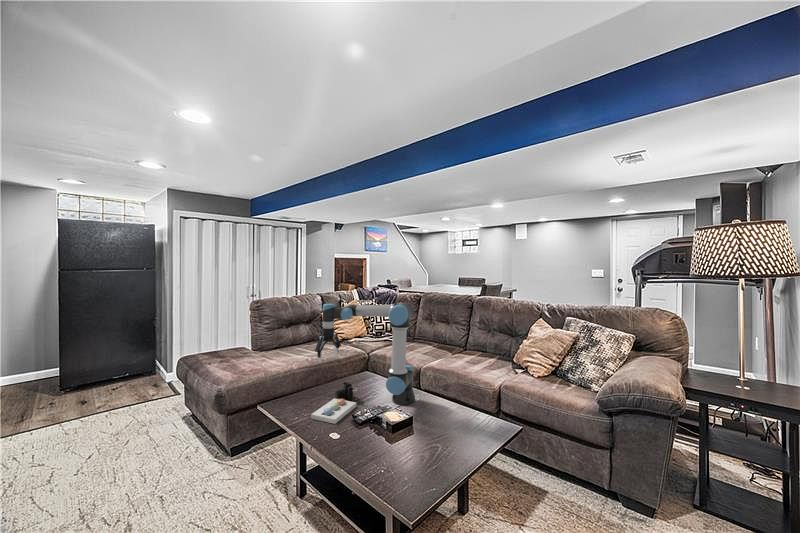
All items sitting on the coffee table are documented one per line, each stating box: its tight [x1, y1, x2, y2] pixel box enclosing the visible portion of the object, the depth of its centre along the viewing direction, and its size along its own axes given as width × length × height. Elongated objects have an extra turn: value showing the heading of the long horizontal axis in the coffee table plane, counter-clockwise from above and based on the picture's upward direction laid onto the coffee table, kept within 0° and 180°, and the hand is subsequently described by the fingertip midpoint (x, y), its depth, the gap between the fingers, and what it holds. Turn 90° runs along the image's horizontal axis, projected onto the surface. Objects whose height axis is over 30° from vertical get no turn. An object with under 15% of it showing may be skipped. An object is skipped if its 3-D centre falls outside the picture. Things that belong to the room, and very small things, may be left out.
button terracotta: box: [337, 399, 345, 406], centre depth 207 cm, size 5×5×3 cm
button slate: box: [324, 408, 332, 416], centre depth 194 cm, size 5×5×3 cm
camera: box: [334, 381, 354, 402], centre depth 220 cm, size 14×11×10 cm
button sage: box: [331, 403, 339, 411], centre depth 200 cm, size 5×5×3 cm
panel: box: [310, 398, 357, 424], centre depth 200 cm, size 16×24×2 cm, turn 158°
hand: (328, 359), depth 219 cm, fingers open, 13 cm apart
